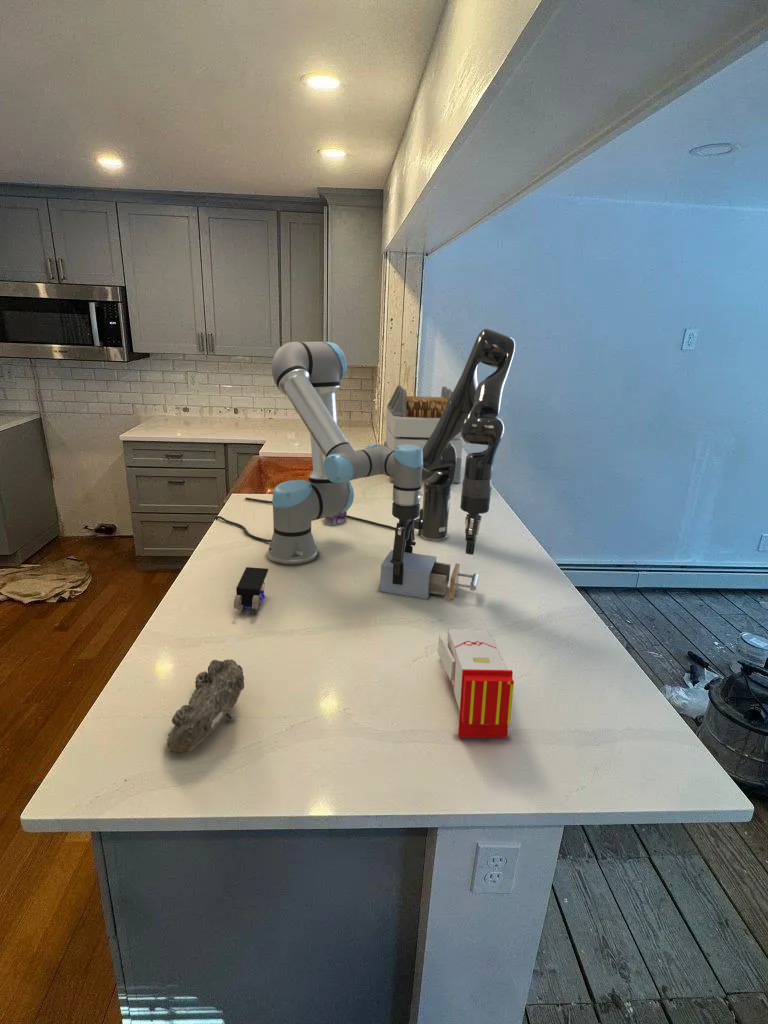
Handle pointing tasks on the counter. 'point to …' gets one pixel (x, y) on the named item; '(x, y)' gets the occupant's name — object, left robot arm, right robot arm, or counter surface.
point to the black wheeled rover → (250, 589)
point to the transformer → (417, 422)
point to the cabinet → (408, 575)
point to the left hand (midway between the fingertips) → (402, 574)
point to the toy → (478, 682)
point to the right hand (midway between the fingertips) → (469, 553)
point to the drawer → (441, 579)
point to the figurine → (336, 519)
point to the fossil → (206, 705)
